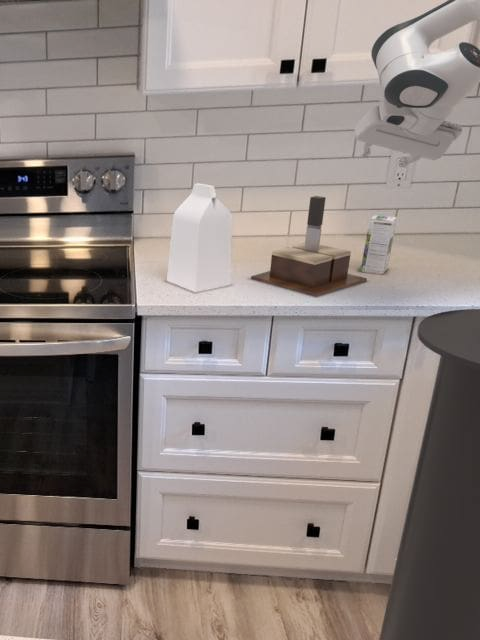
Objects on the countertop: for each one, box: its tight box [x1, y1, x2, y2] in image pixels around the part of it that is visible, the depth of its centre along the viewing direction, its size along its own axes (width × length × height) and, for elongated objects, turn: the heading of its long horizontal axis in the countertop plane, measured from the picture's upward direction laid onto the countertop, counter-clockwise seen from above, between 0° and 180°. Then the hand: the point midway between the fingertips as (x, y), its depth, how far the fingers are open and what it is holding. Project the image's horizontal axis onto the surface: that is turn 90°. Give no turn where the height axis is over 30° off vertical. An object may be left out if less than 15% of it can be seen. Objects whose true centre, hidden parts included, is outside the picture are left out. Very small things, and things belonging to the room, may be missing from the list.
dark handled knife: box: [304, 195, 326, 253], centre depth 177 cm, size 4×2×15 cm, turn 31°
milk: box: [166, 182, 233, 293], centre depth 180 cm, size 12×12×26 cm
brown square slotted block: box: [250, 242, 367, 298], centre depth 181 cm, size 20×20×8 cm
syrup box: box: [360, 214, 398, 275], centre depth 184 cm, size 6×6×14 cm
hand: (382, 160), depth 163 cm, fingers open, 8 cm apart
